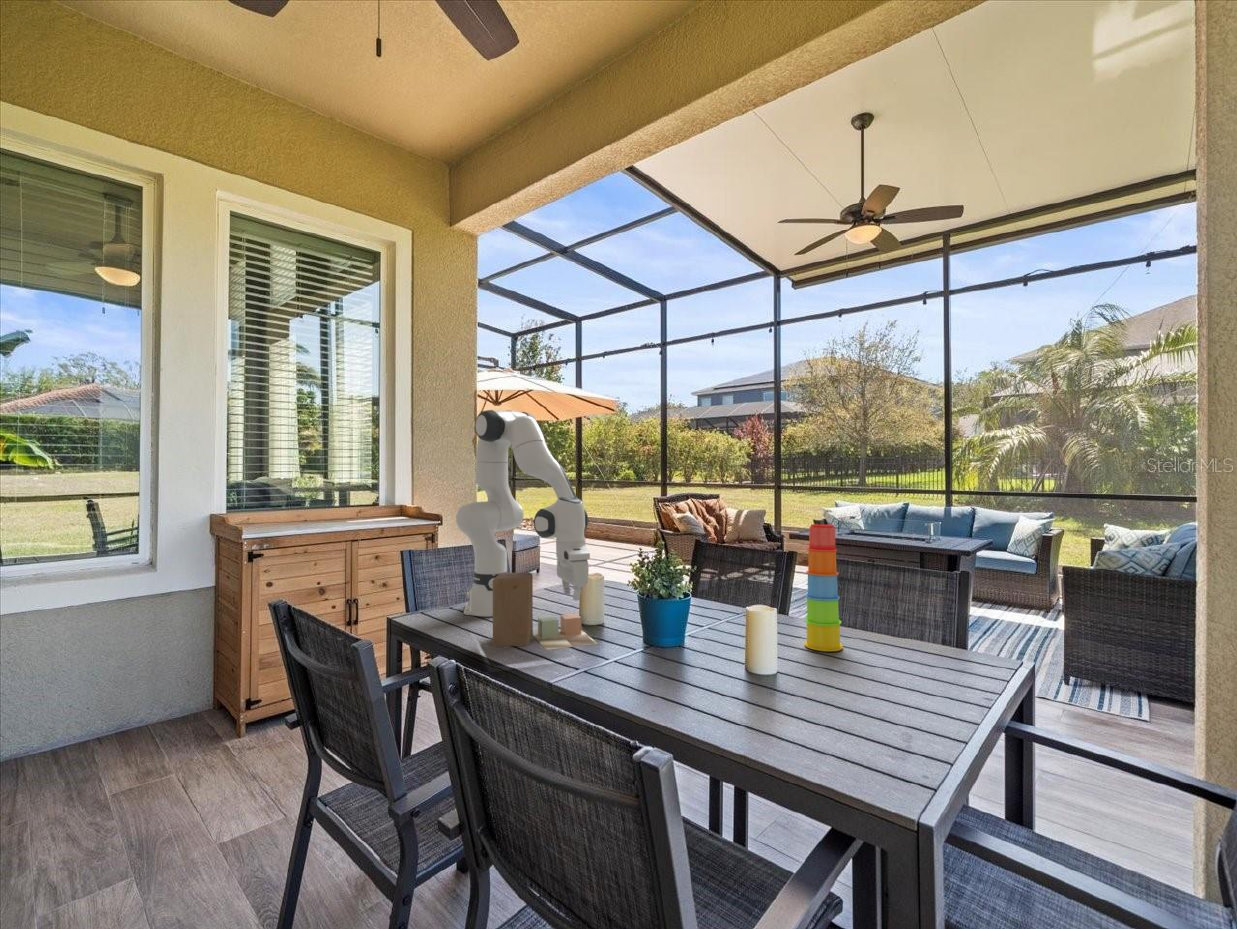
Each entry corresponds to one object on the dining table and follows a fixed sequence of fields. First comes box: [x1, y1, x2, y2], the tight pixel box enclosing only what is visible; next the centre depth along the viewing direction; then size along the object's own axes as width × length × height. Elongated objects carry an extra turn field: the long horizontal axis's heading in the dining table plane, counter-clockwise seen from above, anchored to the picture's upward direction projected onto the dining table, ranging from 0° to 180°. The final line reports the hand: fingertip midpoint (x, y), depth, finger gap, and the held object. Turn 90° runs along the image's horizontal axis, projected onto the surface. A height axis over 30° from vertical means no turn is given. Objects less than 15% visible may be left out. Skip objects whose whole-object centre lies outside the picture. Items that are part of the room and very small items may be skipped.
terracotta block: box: [559, 613, 582, 636], centre depth 176 cm, size 5×5×5 cm
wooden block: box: [492, 572, 534, 647], centre depth 168 cm, size 10×10×20 cm
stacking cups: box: [804, 523, 844, 653], centre depth 165 cm, size 10×10×35 cm
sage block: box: [537, 615, 560, 639], centre depth 173 cm, size 5×5×5 cm
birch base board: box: [533, 629, 599, 651], centre depth 170 cm, size 17×15×1 cm
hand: (571, 597), depth 175 cm, fingers open, 8 cm apart
